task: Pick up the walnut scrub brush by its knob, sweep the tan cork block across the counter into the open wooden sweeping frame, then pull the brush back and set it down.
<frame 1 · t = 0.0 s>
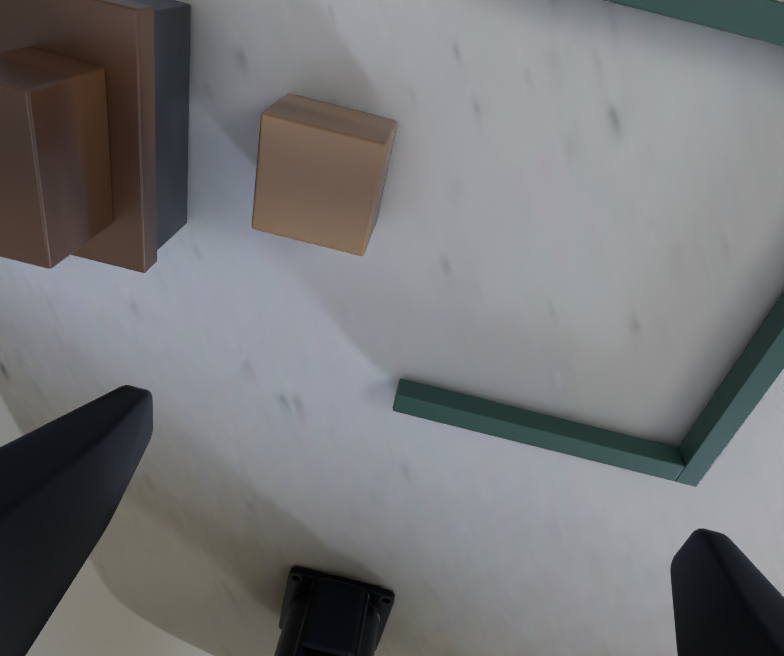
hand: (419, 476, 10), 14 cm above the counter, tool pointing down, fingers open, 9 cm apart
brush: (136, 111, 22), on the counter
frame: (611, 258, 22), on the counter
cork block: (334, 161, 22), on the counter
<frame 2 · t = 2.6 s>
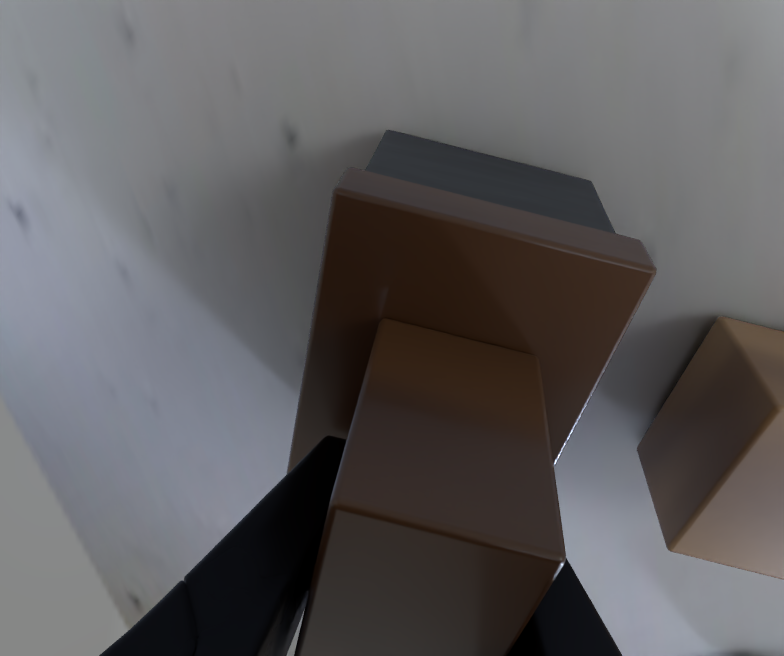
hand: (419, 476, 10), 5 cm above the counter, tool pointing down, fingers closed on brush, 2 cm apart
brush: (436, 326, 13), on the counter, touching gripper
cork block: (758, 407, 13), on the counter
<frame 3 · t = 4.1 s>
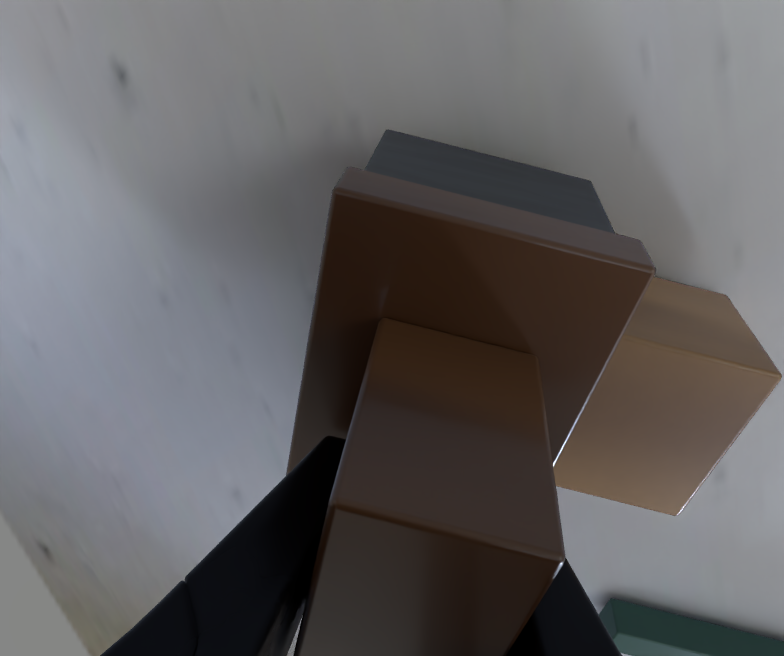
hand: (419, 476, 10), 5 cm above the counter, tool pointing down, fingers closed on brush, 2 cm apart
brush: (436, 326, 13), point 1 cm above the counter, touching gripper
cork block: (603, 343, 14), on the counter
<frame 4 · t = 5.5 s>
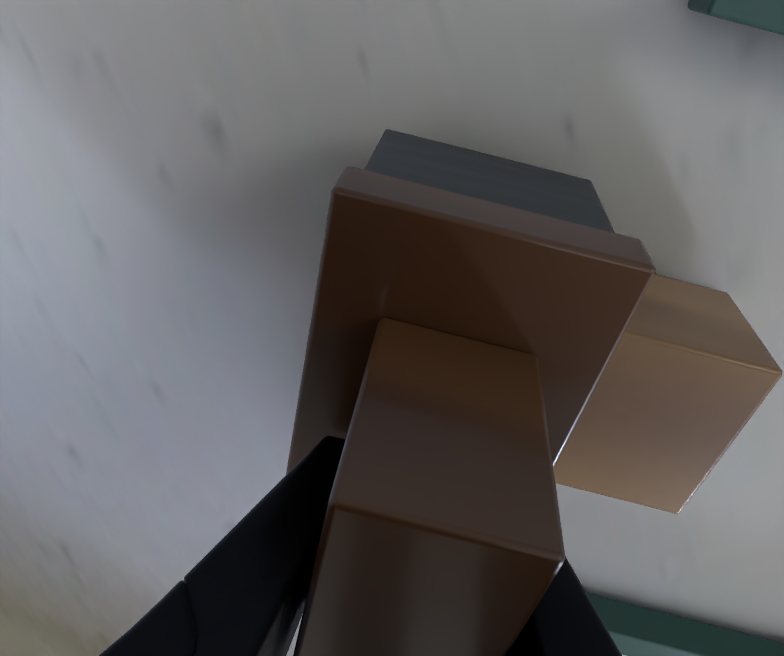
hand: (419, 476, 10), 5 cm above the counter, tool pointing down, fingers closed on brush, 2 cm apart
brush: (436, 326, 13), point 1 cm above the counter, touching cork block, gripper
frame: (781, 429, 15), on the counter
cork block: (603, 341, 14), on the counter, touching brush
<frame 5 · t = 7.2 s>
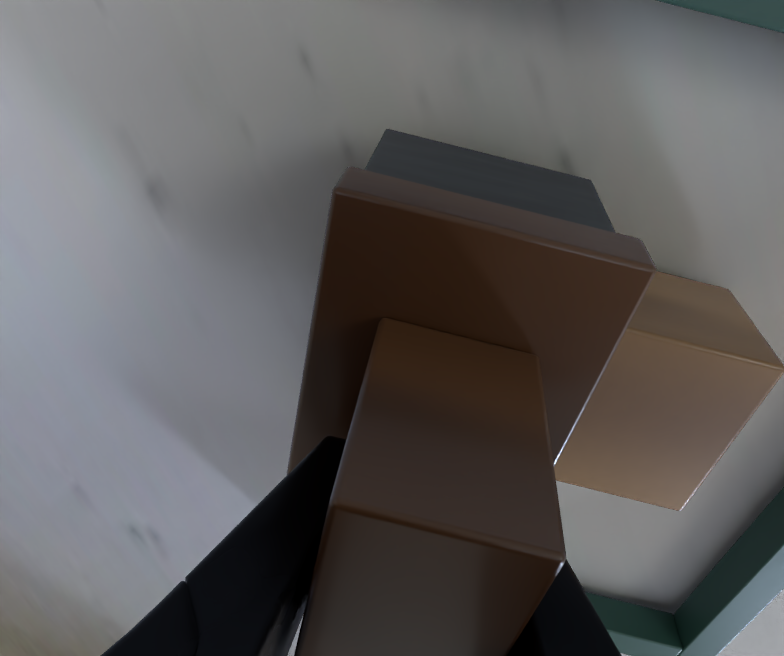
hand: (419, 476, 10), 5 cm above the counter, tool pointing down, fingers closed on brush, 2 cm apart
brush: (436, 326, 13), point 1 cm above the counter, touching cork block, gripper
frame: (571, 374, 15), on the counter
cork block: (605, 338, 14), on the counter, touching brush
when the fingers open (5 cm above the counter, at t = 9.8 s): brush stays where it is, on the counter.
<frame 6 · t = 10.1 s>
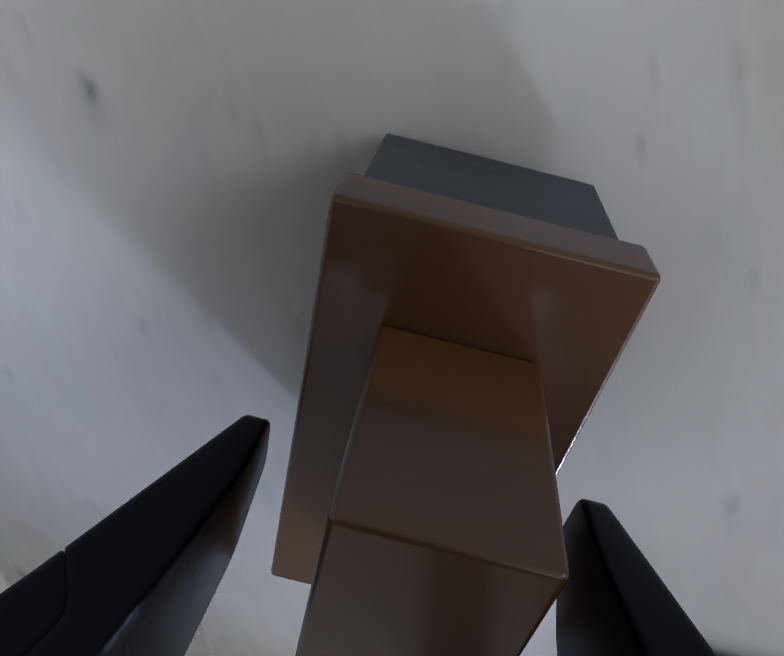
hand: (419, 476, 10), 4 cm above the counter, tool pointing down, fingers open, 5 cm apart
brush: (437, 331, 13), on the counter
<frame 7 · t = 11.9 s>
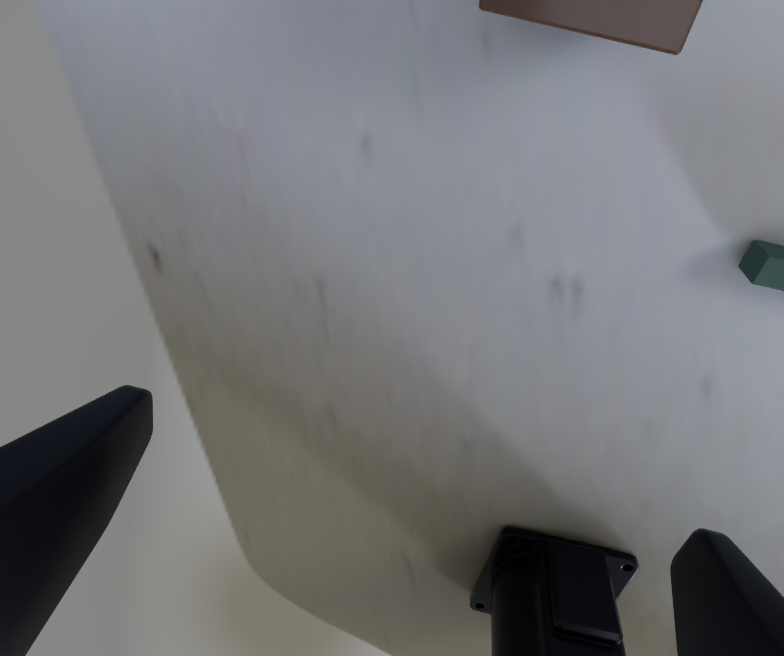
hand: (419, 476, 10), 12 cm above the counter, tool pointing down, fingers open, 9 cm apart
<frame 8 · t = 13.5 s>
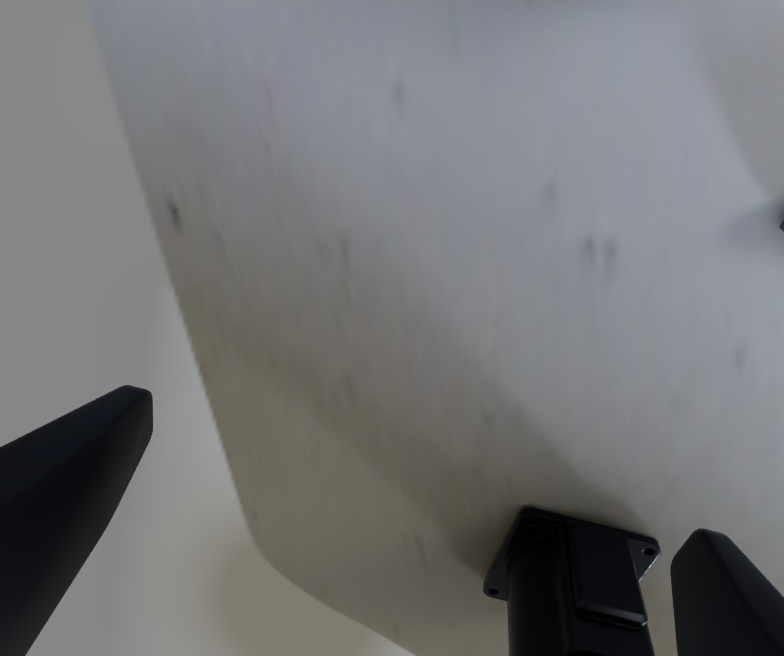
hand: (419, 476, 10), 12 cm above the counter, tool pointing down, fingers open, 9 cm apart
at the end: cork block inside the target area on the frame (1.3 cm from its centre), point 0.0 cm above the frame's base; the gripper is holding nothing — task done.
